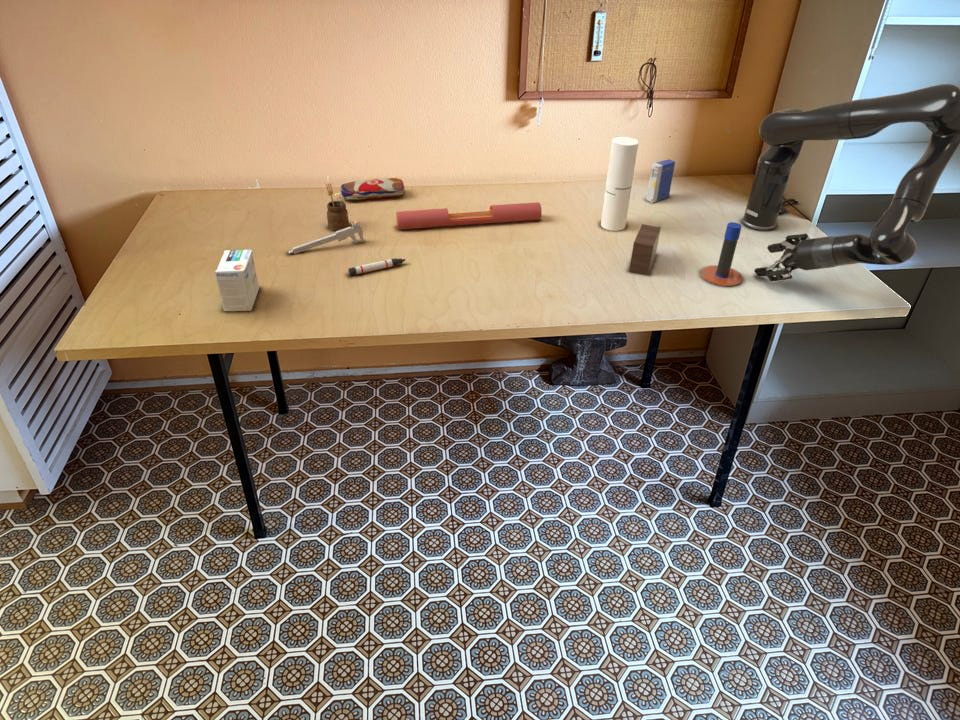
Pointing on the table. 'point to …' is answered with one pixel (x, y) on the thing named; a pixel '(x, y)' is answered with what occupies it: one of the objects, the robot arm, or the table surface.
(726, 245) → the felt marker
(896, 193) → the robot arm
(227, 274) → the light bulb box
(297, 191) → the table surface
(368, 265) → the marker
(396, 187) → the pencil case
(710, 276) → the coaster
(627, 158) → the cylindrical container
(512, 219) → the blood vessel
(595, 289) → the table surface
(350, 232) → the caliper
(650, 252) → the walnut block
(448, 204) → the table surface
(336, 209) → the utensil holder
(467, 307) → the table surface
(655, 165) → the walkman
